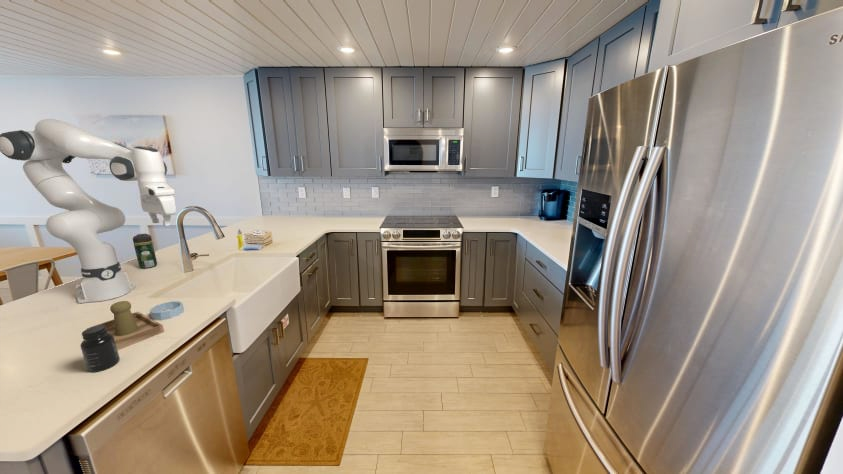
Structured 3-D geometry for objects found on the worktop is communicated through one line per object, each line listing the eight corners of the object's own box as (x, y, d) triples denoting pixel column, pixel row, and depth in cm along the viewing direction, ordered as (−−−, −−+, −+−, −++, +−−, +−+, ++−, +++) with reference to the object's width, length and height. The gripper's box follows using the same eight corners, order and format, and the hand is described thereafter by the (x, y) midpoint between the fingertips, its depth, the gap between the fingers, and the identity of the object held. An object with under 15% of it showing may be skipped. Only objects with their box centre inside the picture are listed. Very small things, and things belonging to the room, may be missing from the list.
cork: (124, 337, 105) (116, 307, 102) (110, 334, 106) (102, 305, 103) (143, 327, 111) (136, 299, 108) (129, 325, 112) (122, 298, 109)
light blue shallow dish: (147, 316, 120) (145, 309, 120) (176, 305, 129) (175, 299, 128) (159, 322, 116) (157, 315, 115) (188, 311, 124) (187, 304, 123)
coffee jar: (139, 265, 176) (132, 233, 171) (157, 262, 181) (150, 231, 176) (138, 270, 169) (131, 237, 164) (157, 267, 174) (150, 235, 169)
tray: (88, 335, 107) (86, 328, 107) (139, 317, 119) (137, 311, 119) (111, 352, 98) (109, 345, 97) (164, 331, 110) (162, 325, 109)
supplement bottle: (102, 358, 95) (92, 323, 92) (126, 357, 96) (117, 322, 93) (80, 373, 88) (69, 336, 85) (106, 372, 89) (95, 335, 86)
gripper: (132, 188, 123) (140, 222, 126) (156, 191, 113) (164, 228, 117) (152, 187, 128) (158, 220, 132) (176, 190, 119) (183, 225, 122)
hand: (161, 224), depth 124 cm, fingers open, 8 cm apart
